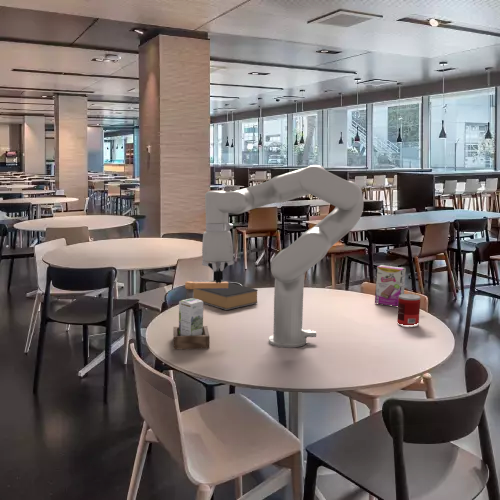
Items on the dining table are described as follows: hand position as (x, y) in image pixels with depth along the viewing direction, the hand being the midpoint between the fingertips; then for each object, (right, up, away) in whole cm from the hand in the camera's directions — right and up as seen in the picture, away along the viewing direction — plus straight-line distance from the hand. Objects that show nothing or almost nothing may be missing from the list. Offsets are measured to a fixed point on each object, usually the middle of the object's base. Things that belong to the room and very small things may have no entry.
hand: (218, 282), depth 193 cm
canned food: (+70, -17, +21) cm, 75 cm away
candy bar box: (+70, -13, +50) cm, 86 cm away
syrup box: (-9, -20, -4) cm, 22 cm away
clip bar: (-4, -2, +3) cm, 5 cm away
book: (-1, -12, +51) cm, 52 cm away
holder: (-9, -19, -1) cm, 21 cm away
